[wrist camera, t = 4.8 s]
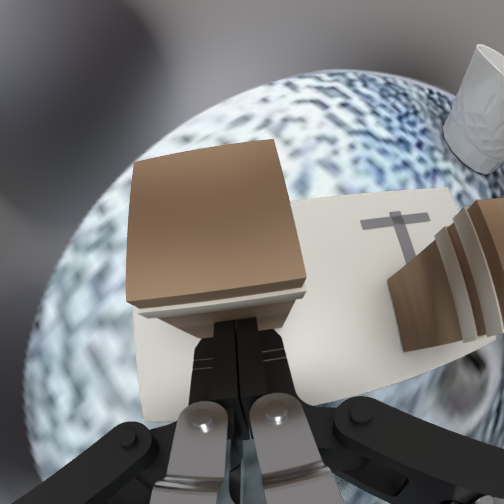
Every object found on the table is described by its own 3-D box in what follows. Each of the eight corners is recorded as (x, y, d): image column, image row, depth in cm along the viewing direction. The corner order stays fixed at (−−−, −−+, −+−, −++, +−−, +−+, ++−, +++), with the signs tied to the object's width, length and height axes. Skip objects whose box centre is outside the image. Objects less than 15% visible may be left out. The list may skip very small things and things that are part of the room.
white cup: (423, 128, 21) (463, 42, 12) (456, 112, 22) (491, 44, 13) (482, 193, 18) (545, 117, 9) (506, 165, 20) (553, 103, 10)
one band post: (284, 329, 13) (312, 281, 6) (197, 340, 13) (122, 306, 6) (270, 248, 15) (276, 136, 8) (190, 259, 15) (131, 160, 8)
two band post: (460, 333, 13) (565, 294, 5) (402, 354, 13) (515, 329, 5) (442, 265, 14) (531, 194, 7) (385, 277, 14) (473, 197, 7)
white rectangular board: (482, 342, 14) (497, 339, 12) (154, 417, 13) (143, 421, 12) (438, 198, 18) (447, 186, 17) (142, 236, 17) (133, 224, 16)
